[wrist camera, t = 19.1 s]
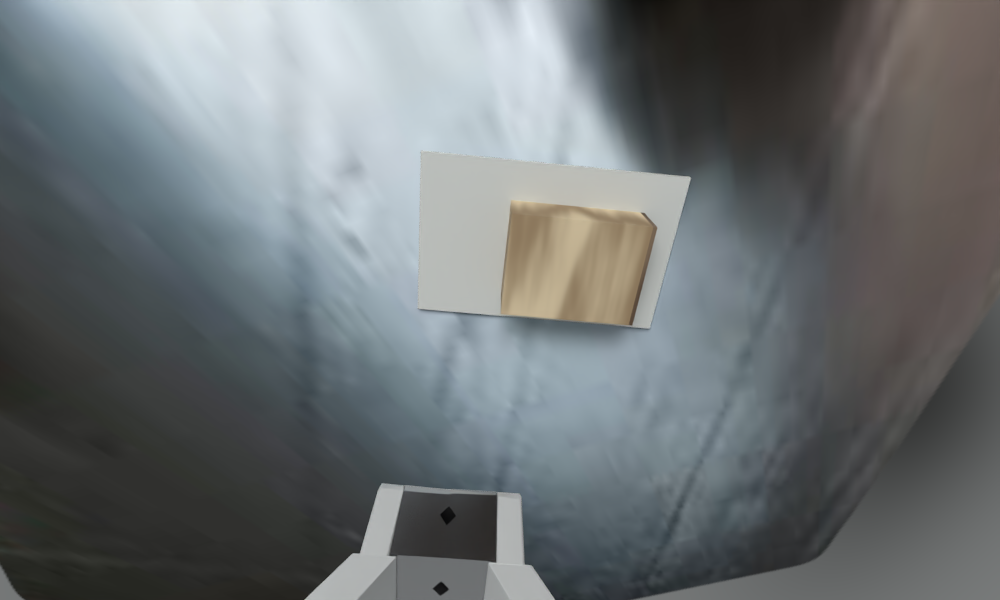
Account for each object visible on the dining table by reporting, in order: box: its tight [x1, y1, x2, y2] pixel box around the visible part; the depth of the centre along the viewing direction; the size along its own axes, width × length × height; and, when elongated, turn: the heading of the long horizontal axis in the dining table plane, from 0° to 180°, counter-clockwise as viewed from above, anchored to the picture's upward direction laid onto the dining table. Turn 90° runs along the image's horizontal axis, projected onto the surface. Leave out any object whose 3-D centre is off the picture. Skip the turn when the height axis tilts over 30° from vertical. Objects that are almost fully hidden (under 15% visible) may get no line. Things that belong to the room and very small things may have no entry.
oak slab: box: [501, 200, 658, 326], centre depth 37 cm, size 4×8×10 cm
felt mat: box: [418, 151, 691, 329], centre depth 38 cm, size 20×13×1 cm, turn 85°
